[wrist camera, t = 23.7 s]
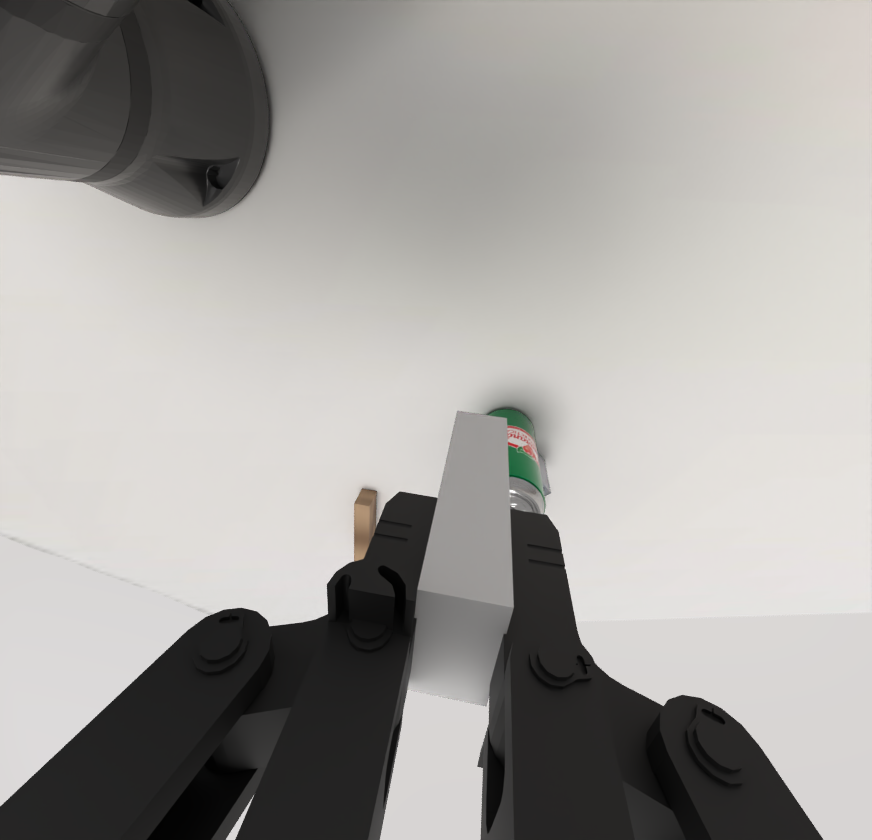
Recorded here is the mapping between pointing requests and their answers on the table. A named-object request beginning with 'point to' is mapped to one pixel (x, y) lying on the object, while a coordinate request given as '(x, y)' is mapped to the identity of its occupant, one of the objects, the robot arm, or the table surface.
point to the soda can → (523, 463)
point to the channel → (364, 522)
